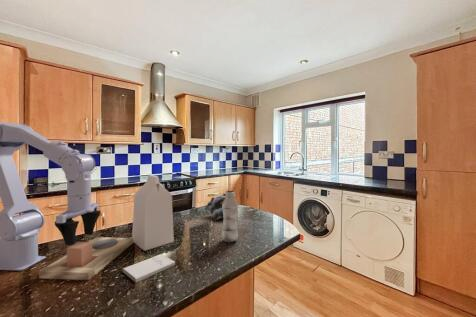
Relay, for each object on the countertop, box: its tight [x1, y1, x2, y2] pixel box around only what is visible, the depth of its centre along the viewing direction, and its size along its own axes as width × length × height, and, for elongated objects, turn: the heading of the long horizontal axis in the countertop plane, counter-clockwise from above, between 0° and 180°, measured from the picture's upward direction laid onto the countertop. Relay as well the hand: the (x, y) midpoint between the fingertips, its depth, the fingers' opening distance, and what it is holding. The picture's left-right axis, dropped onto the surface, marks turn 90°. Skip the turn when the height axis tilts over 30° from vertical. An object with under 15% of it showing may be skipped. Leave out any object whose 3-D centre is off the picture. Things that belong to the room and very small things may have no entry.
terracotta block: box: [66, 241, 92, 268], centre depth 67 cm, size 4×4×7 cm
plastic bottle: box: [221, 190, 239, 243], centre depth 88 cm, size 6×7×20 cm
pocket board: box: [38, 236, 134, 281], centre depth 73 cm, size 14×24×2 cm, turn 178°
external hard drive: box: [122, 253, 176, 283], centre depth 67 cm, size 2×8×12 cm
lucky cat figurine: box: [207, 193, 239, 221], centre depth 120 cm, size 15×12×14 cm
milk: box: [131, 174, 175, 251], centre depth 86 cm, size 12×12×26 cm
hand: (79, 239), depth 66 cm, fingers open, 7 cm apart
